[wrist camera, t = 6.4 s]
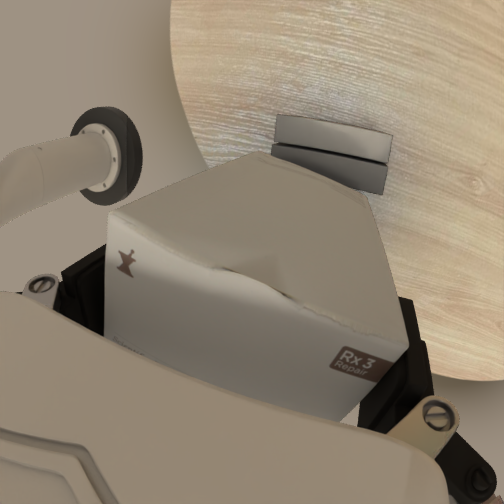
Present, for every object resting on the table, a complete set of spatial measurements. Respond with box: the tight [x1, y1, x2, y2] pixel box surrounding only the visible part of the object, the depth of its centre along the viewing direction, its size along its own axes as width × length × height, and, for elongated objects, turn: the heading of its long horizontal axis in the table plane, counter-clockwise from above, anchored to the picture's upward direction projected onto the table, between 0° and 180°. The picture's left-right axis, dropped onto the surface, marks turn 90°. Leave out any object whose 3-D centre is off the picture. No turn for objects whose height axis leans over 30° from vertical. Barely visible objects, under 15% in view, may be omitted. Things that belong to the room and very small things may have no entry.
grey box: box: [271, 114, 393, 195], centre depth 28 cm, size 10×5×11 cm, turn 84°
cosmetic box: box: [104, 151, 409, 422], centre depth 14 cm, size 8×6×15 cm
